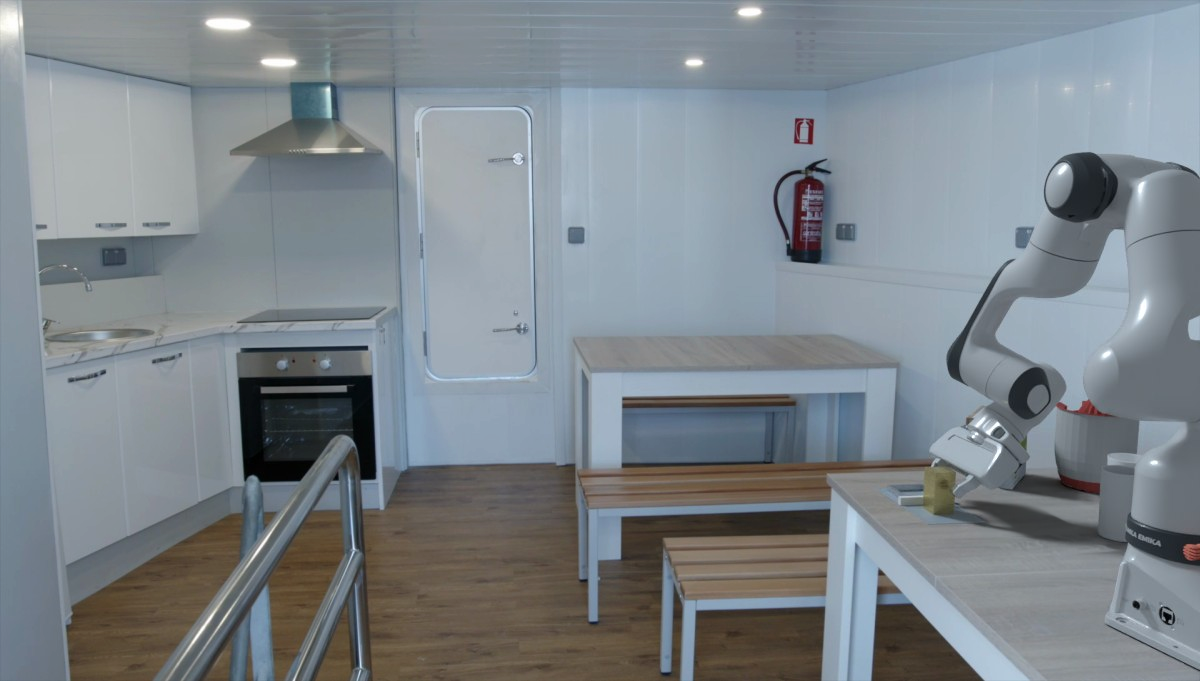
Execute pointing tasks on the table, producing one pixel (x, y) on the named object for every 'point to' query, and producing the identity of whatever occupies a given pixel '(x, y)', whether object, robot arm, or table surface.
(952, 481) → the block
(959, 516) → the plate
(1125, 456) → the white cup
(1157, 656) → the table surface
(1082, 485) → the citrus juicer
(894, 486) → the frame
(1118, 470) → the mug
